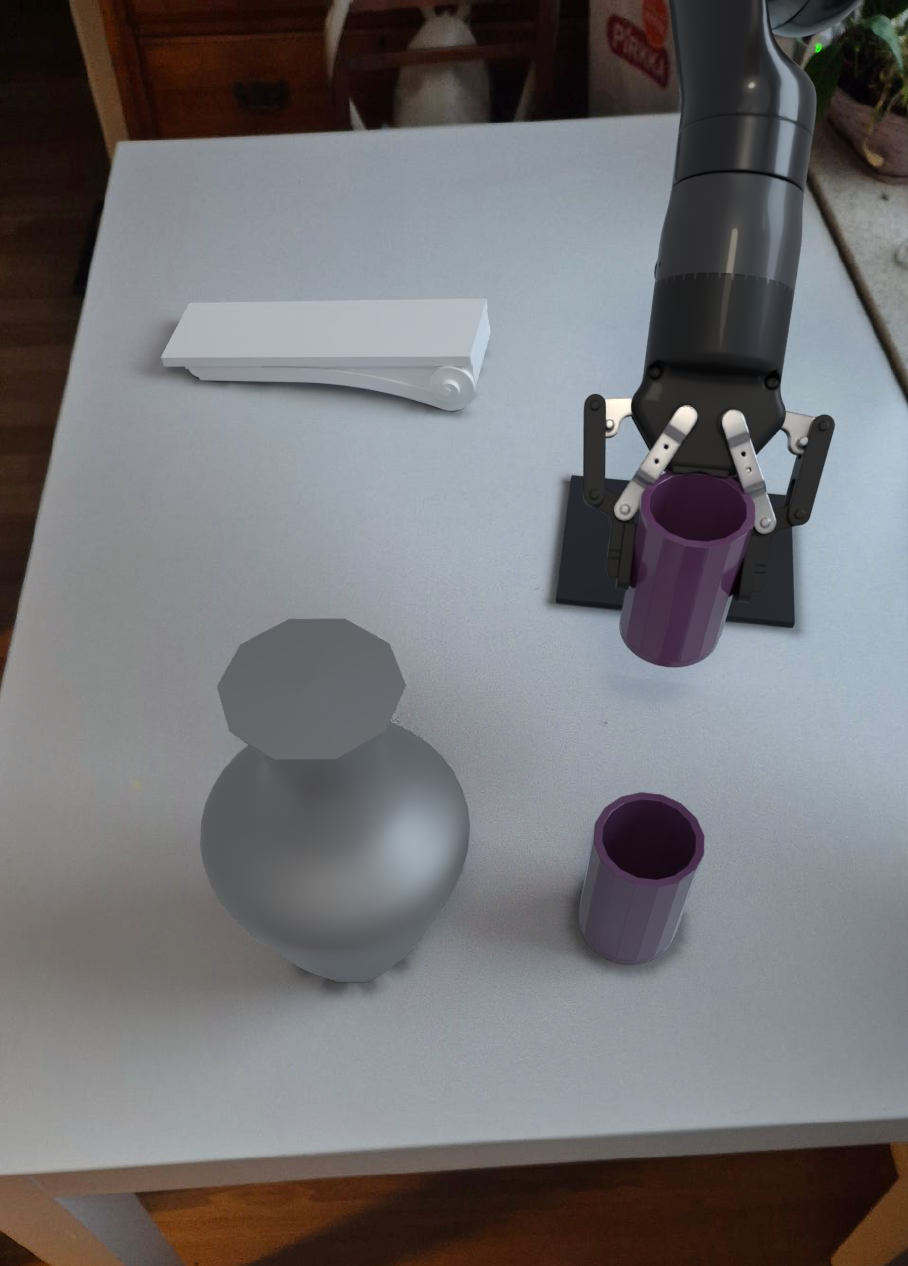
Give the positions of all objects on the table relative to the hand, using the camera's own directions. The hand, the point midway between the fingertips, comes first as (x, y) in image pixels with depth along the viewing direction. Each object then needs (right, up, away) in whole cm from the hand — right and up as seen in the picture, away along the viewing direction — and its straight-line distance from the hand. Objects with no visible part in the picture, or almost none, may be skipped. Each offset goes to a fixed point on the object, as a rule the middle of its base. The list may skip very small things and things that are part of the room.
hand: (681, 594), depth 66 cm
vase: (-19, -21, +6) cm, 29 cm away
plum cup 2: (-2, -20, +7) cm, 21 cm away
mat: (+5, +8, +25) cm, 27 cm away
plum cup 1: (0, -1, +5) cm, 5 cm away
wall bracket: (-24, +27, +38) cm, 53 cm away
